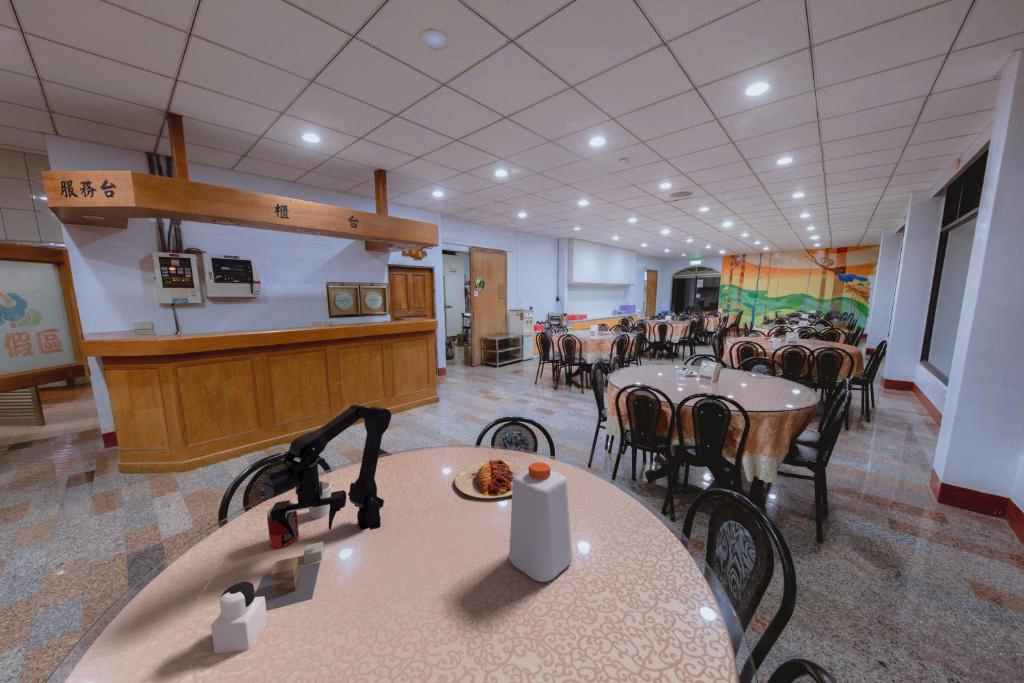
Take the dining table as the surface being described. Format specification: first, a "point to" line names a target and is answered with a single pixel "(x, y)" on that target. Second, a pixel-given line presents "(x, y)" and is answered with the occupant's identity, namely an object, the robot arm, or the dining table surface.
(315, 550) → the sage block
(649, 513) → the dining table surface
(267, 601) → the plate
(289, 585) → the tower base
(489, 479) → the plate of pasta
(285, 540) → the canned food
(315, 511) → the dixie cup
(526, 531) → the plastic bottle
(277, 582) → the tower top
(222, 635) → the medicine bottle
